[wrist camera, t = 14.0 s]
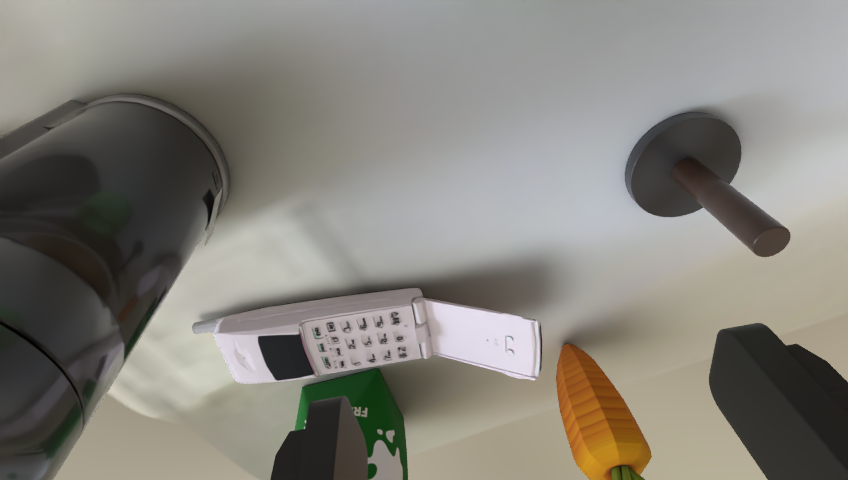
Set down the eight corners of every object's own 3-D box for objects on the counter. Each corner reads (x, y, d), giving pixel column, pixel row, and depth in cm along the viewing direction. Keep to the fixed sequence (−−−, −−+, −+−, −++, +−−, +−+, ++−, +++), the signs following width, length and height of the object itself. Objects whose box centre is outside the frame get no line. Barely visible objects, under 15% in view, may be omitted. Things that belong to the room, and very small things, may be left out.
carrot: (595, 317, 39) (691, 502, 27) (596, 359, 42) (684, 545, 29) (534, 329, 40) (600, 518, 27) (539, 370, 42) (602, 558, 30)
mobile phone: (543, 381, 34) (196, 428, 35) (523, 324, 39) (220, 366, 40) (543, 317, 31) (160, 369, 31) (522, 264, 36) (192, 310, 36)
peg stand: (605, 194, 33) (672, 279, 25) (665, 96, 29) (765, 159, 22) (688, 221, 35) (777, 309, 27) (755, 132, 31) (879, 203, 23)
